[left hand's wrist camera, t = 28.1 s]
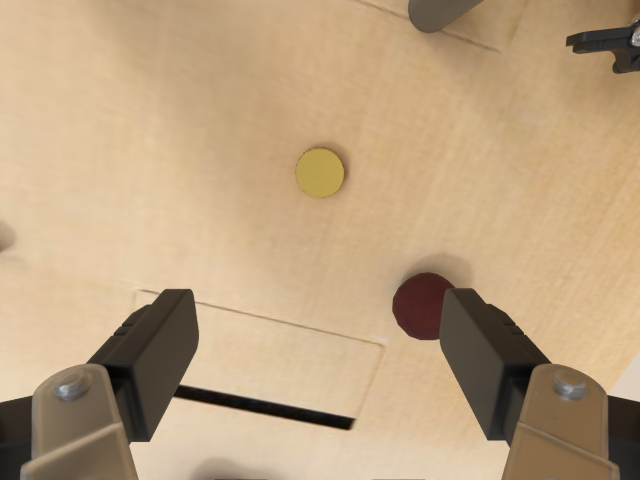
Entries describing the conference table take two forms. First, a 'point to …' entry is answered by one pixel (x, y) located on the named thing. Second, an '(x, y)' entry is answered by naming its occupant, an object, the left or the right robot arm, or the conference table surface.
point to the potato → (421, 305)
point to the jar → (437, 12)
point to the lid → (319, 172)
